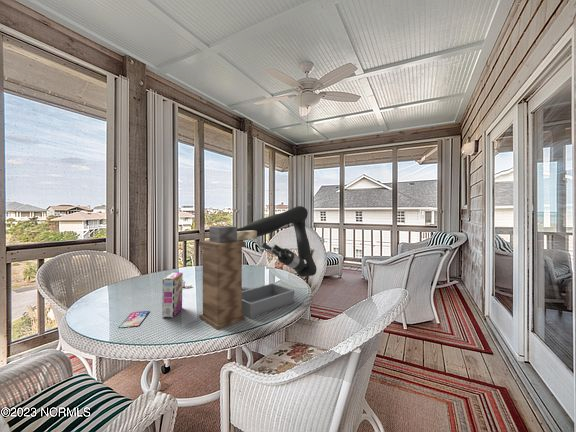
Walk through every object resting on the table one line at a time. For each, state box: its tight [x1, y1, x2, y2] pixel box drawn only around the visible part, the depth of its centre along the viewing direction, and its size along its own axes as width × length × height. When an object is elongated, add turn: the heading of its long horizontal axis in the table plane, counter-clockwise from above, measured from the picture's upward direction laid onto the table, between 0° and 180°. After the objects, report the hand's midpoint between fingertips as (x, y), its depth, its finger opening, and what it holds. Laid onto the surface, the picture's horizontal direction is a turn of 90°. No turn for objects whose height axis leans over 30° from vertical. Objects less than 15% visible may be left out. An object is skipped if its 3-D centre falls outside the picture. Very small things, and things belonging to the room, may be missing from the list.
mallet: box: [208, 225, 258, 243], centre depth 111 cm, size 20×8×6 cm, turn 134°
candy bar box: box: [161, 272, 184, 319], centre depth 113 cm, size 11×5×16 cm, turn 5°
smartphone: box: [118, 310, 151, 329], centre depth 107 cm, size 8×1×15 cm
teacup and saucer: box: [182, 279, 193, 290], centre depth 149 cm, size 9×8×4 cm
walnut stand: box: [198, 239, 246, 330], centre depth 107 cm, size 13×14×32 cm
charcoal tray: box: [242, 283, 295, 319], centre depth 123 cm, size 26×16×6 cm, turn 135°
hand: (268, 245), depth 124 cm, fingers open, 8 cm apart
